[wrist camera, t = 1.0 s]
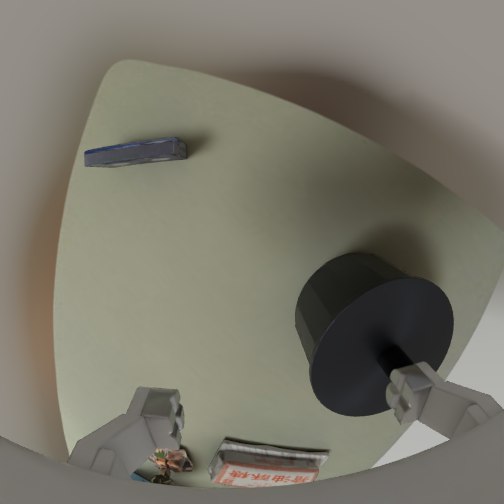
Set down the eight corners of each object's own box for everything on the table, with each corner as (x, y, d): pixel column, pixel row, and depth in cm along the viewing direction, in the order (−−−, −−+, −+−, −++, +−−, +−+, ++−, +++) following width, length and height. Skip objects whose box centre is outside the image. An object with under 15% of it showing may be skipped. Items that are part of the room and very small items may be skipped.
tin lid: (439, 246, 21) (479, 262, 16) (447, 367, 24) (472, 393, 19) (284, 317, 22) (296, 356, 17) (328, 427, 25) (341, 464, 20)
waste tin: (389, 234, 30) (440, 255, 20) (408, 330, 33) (446, 369, 24) (277, 281, 30) (293, 324, 21) (314, 374, 34) (333, 427, 24)
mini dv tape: (186, 144, 27) (173, 135, 21) (187, 159, 27) (174, 153, 21) (111, 153, 26) (83, 149, 20) (111, 167, 27) (84, 166, 21)
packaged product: (204, 488, 33) (221, 460, 31) (206, 467, 38) (222, 436, 36) (306, 498, 35) (335, 471, 33) (302, 479, 40) (329, 450, 38)
